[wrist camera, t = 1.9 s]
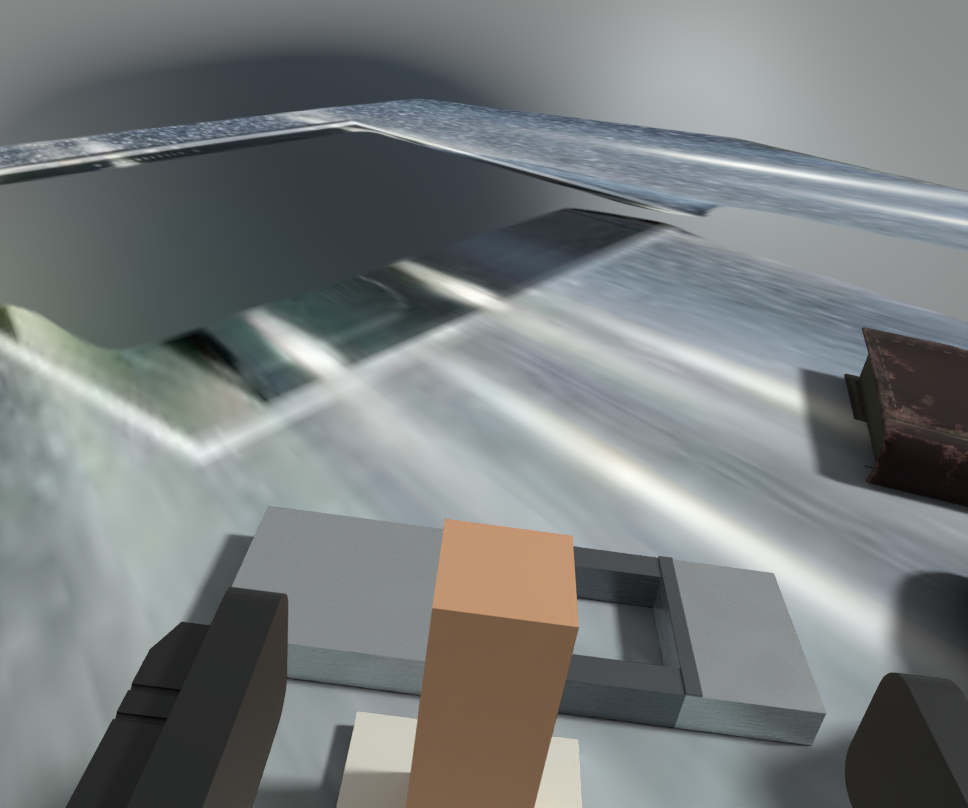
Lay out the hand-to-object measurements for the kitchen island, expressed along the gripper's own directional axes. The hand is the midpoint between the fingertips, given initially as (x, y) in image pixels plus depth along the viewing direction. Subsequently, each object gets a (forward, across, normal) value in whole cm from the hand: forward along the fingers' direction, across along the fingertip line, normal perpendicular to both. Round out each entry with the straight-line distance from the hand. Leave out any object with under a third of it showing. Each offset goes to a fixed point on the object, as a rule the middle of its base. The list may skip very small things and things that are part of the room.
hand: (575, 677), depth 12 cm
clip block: (+11, 0, +20) cm, 23 cm away
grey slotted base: (+22, -2, +20) cm, 30 cm away
